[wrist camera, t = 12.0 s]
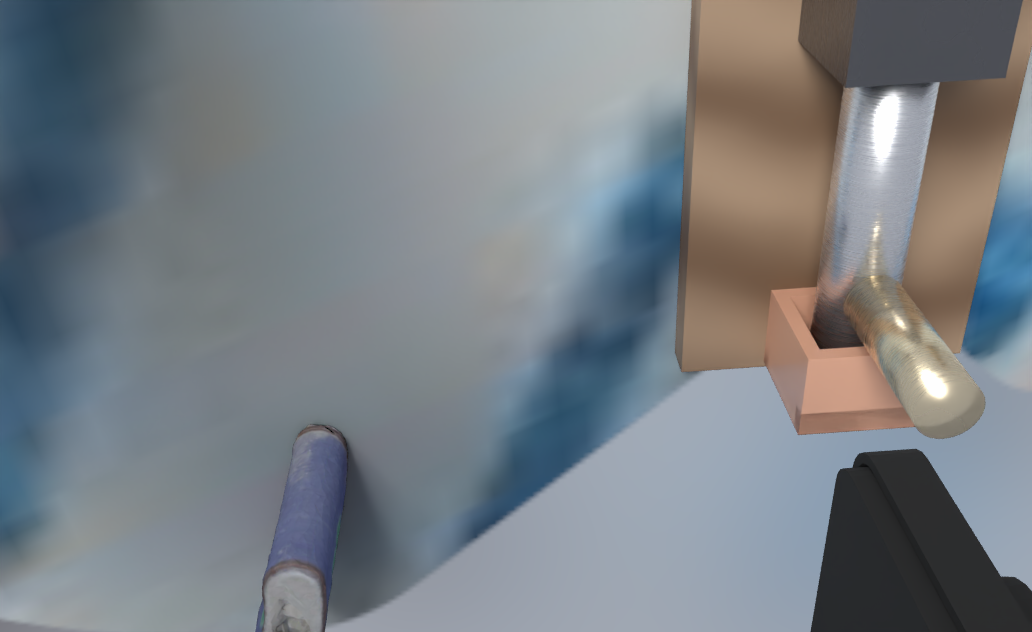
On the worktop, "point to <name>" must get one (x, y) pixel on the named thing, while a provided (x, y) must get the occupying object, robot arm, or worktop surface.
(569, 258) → the worktop surface
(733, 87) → the base board
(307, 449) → the flask
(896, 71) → the outer sleeve
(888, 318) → the brushed metal peg
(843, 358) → the socket block
